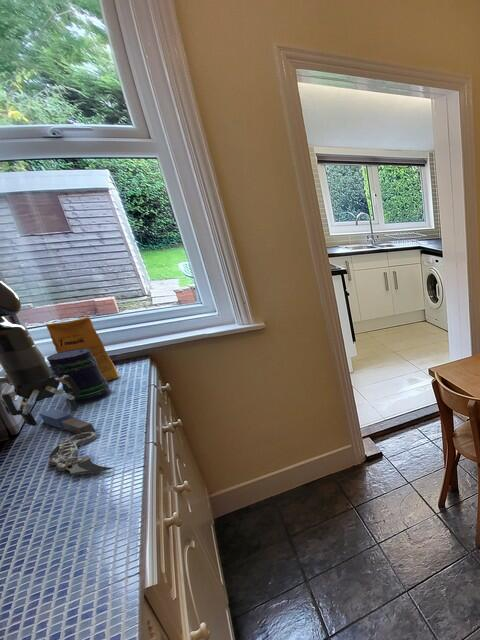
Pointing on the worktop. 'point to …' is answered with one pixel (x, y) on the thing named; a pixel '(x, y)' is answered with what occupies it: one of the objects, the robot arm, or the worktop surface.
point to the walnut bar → (77, 426)
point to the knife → (68, 461)
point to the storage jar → (80, 374)
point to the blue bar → (55, 417)
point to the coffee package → (82, 343)
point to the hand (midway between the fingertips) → (55, 418)
